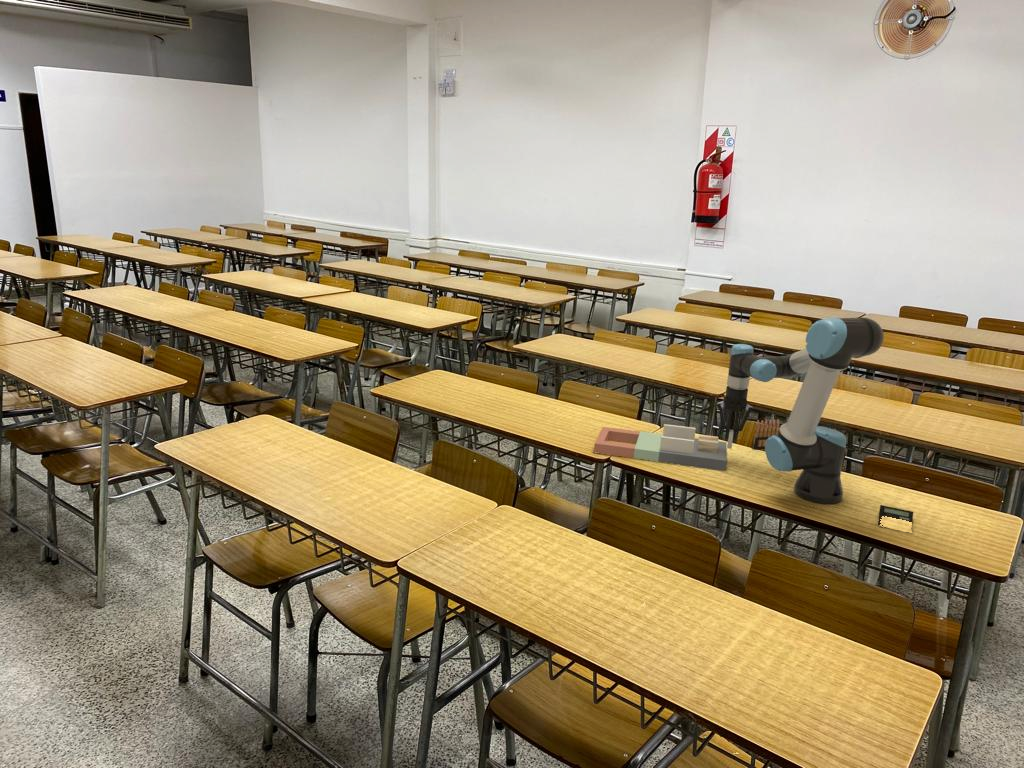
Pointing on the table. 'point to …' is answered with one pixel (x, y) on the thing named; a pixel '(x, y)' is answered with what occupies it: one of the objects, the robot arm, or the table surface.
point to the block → (708, 443)
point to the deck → (661, 447)
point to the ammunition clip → (764, 434)
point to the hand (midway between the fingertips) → (729, 447)
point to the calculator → (895, 513)
